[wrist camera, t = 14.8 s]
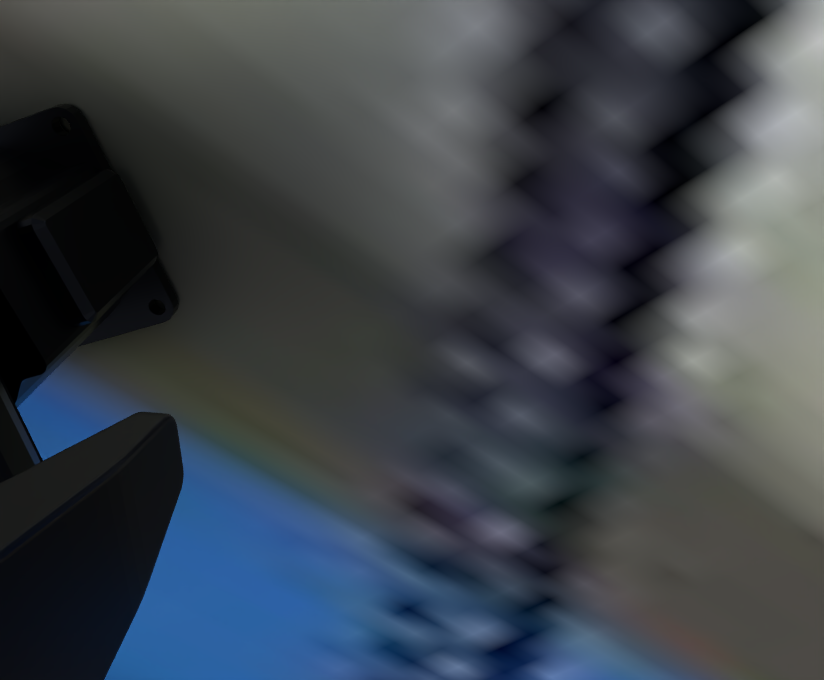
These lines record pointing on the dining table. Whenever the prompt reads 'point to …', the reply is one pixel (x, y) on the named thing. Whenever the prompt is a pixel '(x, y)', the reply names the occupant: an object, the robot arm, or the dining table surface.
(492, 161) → the dining table surface
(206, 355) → the dining table surface
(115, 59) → the dining table surface
